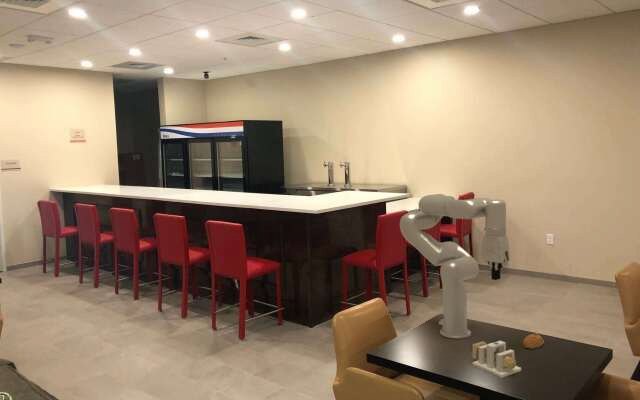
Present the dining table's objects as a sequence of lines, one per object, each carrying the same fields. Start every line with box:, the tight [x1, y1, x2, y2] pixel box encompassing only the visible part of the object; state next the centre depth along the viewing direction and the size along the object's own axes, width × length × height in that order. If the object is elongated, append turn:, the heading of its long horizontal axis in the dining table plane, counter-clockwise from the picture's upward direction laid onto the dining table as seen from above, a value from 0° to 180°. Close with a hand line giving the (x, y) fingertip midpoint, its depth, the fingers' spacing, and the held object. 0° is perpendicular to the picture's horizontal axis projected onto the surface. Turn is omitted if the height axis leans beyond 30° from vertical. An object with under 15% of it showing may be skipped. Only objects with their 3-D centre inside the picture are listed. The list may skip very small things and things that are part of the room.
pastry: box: [522, 333, 545, 350], centre depth 201 cm, size 9×7×4 cm
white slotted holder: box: [471, 340, 522, 379], centre depth 181 cm, size 13×10×9 cm
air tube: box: [472, 341, 517, 369], centre depth 182 cm, size 16×5×5 cm, turn 30°
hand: (496, 279), depth 198 cm, fingers closed
